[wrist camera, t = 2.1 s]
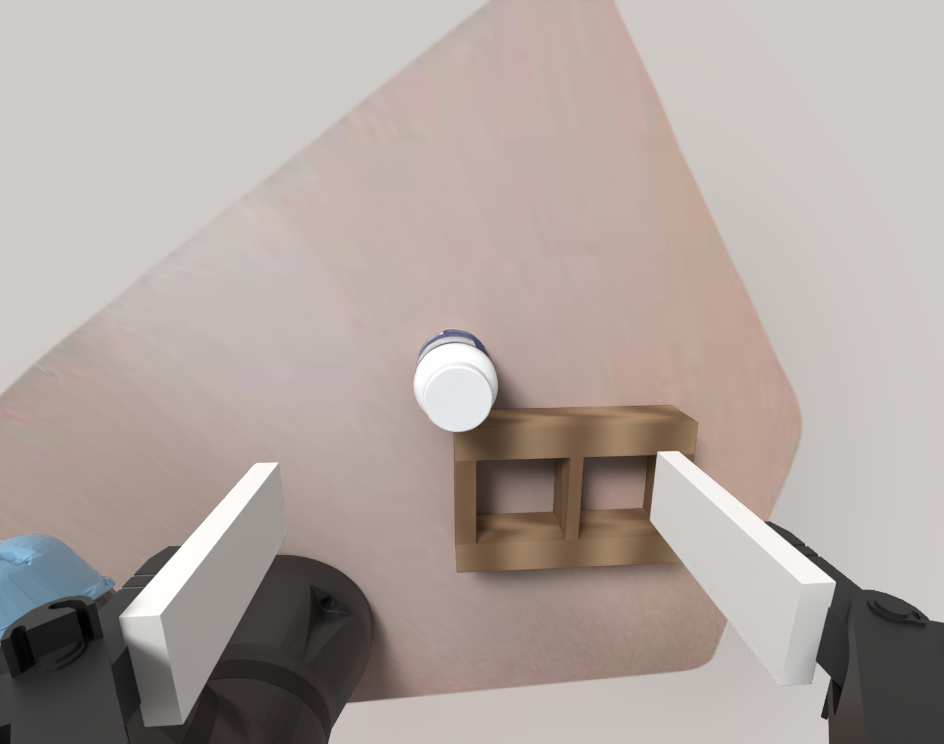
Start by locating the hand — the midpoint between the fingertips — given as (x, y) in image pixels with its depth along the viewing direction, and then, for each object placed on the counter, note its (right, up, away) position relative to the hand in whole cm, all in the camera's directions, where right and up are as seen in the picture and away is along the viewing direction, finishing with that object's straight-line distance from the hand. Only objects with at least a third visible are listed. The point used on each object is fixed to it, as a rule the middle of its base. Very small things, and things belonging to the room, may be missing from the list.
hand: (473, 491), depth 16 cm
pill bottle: (-2, +5, +20) cm, 20 cm away
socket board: (+7, -5, +22) cm, 24 cm away
